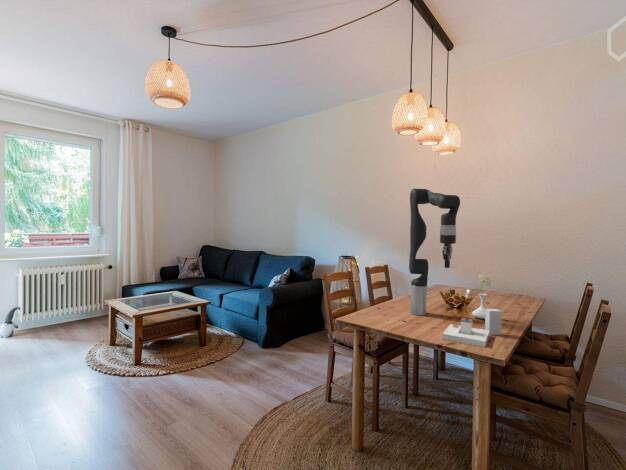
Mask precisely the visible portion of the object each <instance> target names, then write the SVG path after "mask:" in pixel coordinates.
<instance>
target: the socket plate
mask: <svg viewBox="0 0 626 470" xmlns="http://www.w3.org/2000/svg"><path fill="white" fill-rule="evenodd" d="M460 330H461V325H458V324H452V323H450V324H449V325H448V326H447V327H446V329H445V330H444V332H443V333H442V340H445V341H451V342H456V343H461V344H465V345H466V344H467V345H471V346H475V345H476V346H477V347H481V346H482V348H486V346H487V343H488V341H489V338H490V335H489V332H490V331H488V330H485V329H481V328H476V327H472V335H467V334H461V333H460Z"/></svg>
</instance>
